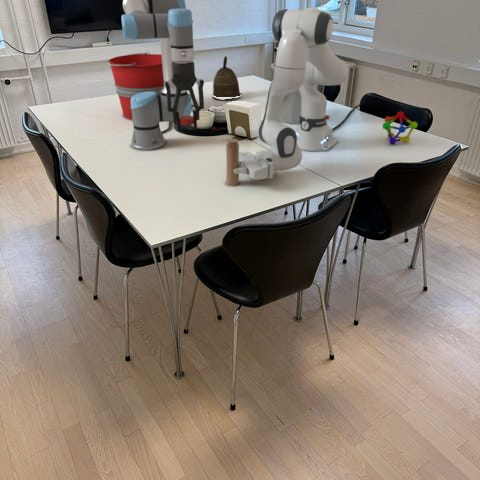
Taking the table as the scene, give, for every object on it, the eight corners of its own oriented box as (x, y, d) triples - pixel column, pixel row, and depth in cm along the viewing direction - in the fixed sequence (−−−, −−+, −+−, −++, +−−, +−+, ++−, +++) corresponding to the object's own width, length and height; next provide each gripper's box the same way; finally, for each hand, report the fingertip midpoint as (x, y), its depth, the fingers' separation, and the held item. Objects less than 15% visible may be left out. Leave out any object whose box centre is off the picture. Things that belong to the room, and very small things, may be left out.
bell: (227, 105, 294) (202, 96, 282) (238, 66, 289) (213, 55, 277) (243, 108, 280) (217, 98, 268) (255, 66, 275) (229, 55, 263)
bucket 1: (122, 105, 264) (115, 51, 248) (181, 105, 263) (177, 51, 248) (106, 122, 235) (96, 62, 219) (171, 123, 234) (167, 63, 218)
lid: (177, 121, 159) (176, 116, 158) (192, 120, 161) (191, 114, 160) (180, 126, 155) (180, 120, 154) (196, 124, 156) (196, 119, 155)
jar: (241, 184, 171) (241, 141, 161) (230, 186, 169) (230, 143, 159) (234, 179, 174) (234, 137, 165) (224, 182, 172) (223, 139, 163)
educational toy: (377, 146, 209) (379, 114, 202) (384, 138, 219) (386, 107, 211) (411, 149, 202) (415, 116, 195) (417, 141, 212) (420, 109, 204)
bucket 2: (296, 131, 225) (301, 73, 210) (257, 117, 244) (258, 64, 229) (334, 119, 242) (340, 65, 227) (294, 108, 260) (297, 57, 246)
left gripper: (156, 64, 142) (162, 135, 154) (212, 62, 146) (214, 130, 158) (153, 60, 148) (159, 128, 160) (207, 58, 152) (209, 124, 164)
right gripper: (251, 146, 179) (219, 151, 174) (275, 164, 163) (241, 169, 158) (251, 161, 182) (220, 166, 177) (274, 179, 166) (241, 186, 161)
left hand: (187, 129), depth 159 cm, fingers closed on lid, 5 cm apart
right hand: (230, 168), depth 167 cm, fingers closed on jar, 5 cm apart
